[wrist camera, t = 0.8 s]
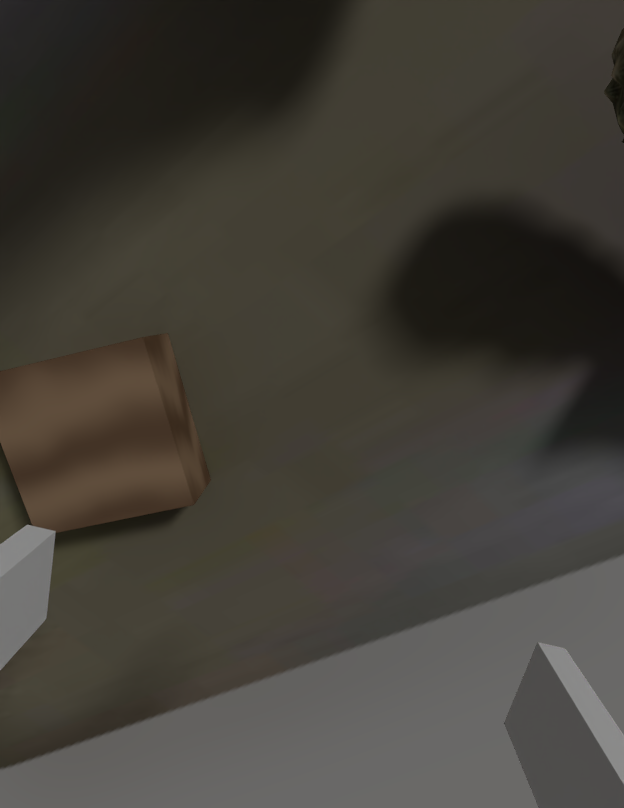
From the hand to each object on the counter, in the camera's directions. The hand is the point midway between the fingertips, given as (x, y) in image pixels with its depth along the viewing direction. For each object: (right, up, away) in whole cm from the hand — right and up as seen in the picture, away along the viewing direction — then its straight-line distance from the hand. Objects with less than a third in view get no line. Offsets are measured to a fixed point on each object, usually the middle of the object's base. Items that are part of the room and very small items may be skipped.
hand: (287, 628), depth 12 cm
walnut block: (-16, +4, +26) cm, 31 cm away
